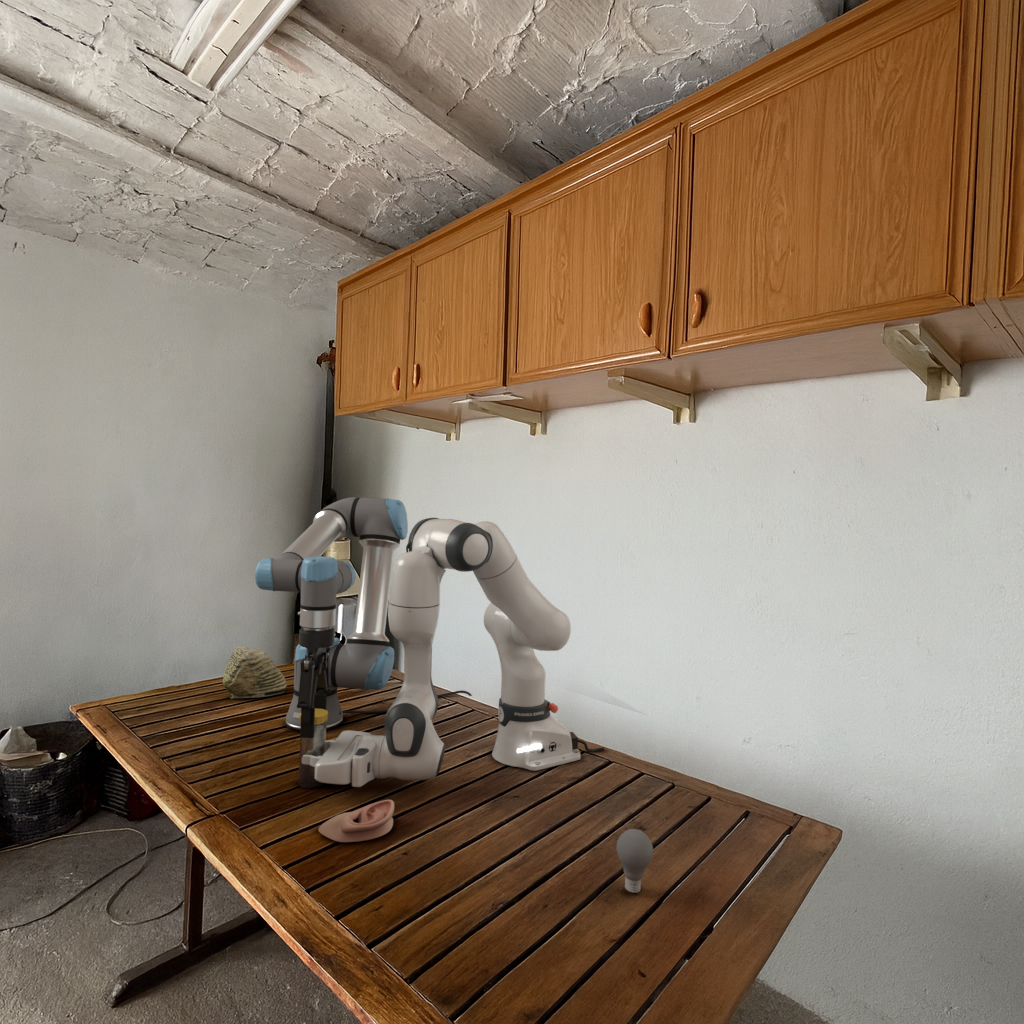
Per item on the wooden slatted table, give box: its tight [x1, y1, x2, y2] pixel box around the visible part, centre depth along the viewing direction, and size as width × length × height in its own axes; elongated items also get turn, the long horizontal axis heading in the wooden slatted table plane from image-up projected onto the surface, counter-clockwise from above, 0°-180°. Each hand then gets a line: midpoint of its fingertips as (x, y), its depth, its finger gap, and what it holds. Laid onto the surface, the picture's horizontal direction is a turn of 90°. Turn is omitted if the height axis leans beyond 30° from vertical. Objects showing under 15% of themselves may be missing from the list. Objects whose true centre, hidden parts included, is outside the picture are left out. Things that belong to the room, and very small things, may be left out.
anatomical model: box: [317, 799, 395, 843], centre depth 122 cm, size 13×4×12 cm
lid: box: [299, 709, 328, 725], centre depth 140 cm, size 6×6×2 cm
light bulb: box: [615, 828, 654, 894], centre depth 106 cm, size 6×6×10 cm
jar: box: [298, 722, 327, 789], centre depth 140 cm, size 5×5×15 cm
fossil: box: [222, 646, 288, 699], centre depth 198 cm, size 9×18×15 cm, turn 132°
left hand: (313, 729), depth 140 cm, fingers open, 8 cm apart
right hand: (308, 752), depth 140 cm, fingers closed on jar, 5 cm apart
